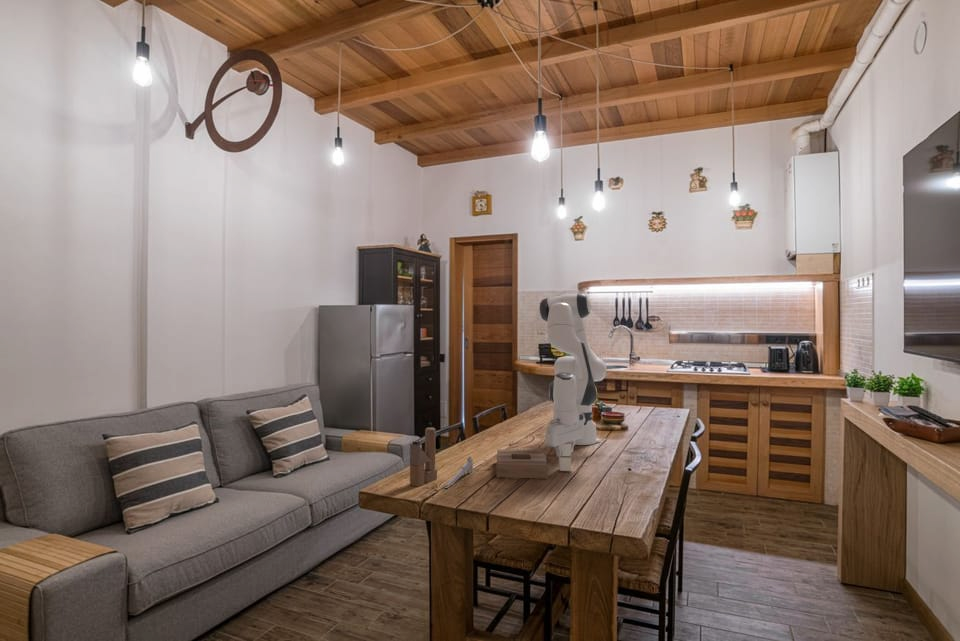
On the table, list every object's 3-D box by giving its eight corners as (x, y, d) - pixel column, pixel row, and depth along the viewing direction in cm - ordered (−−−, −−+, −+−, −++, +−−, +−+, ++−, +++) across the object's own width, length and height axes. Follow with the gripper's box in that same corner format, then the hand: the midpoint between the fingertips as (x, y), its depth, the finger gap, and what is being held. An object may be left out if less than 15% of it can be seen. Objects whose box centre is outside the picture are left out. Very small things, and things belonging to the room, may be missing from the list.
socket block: (497, 461, 201) (497, 449, 201) (543, 462, 200) (543, 450, 200) (496, 478, 181) (496, 463, 181) (547, 479, 180) (547, 464, 180)
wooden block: (409, 485, 173) (409, 432, 173) (429, 477, 182) (429, 426, 182) (418, 487, 171) (418, 433, 171) (437, 478, 180) (437, 427, 180)
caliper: (470, 472, 188) (470, 455, 188) (472, 473, 188) (472, 456, 188) (444, 489, 169) (444, 470, 169) (447, 490, 169) (447, 471, 169)
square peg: (559, 467, 192) (559, 441, 192) (569, 467, 192) (569, 441, 192) (560, 470, 188) (560, 443, 188) (570, 471, 188) (571, 444, 188)
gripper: (555, 422, 180) (555, 461, 180) (587, 414, 195) (586, 450, 195) (541, 420, 184) (541, 458, 185) (573, 412, 199) (572, 447, 199)
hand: (564, 454), depth 190 cm, fingers closed on square peg, 6 cm apart
